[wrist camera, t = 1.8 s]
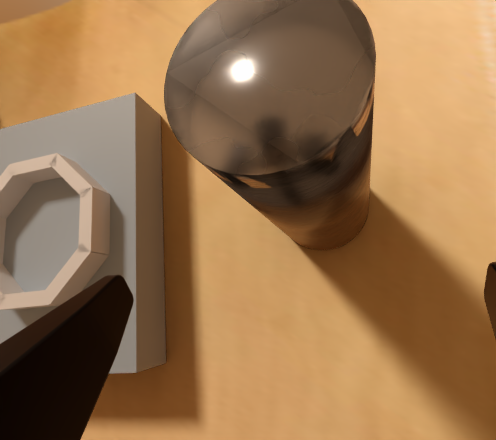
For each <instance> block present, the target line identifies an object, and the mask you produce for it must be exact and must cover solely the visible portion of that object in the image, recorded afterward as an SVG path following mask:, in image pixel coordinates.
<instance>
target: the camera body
mask: <svg viewBox="0 0 496 440" xmlns="http://www.w3.org/2000/svg"><path fill="white" fill-rule="evenodd" d="M117 274H118V275H121V276H123V277H124V279H125V281H126V283H127V285H128V287H129V288H130V290H131V292H132V294H133V298H134V302H133V307H132V310H131V313H130V316H129V319H128V322H127V325H126V328H125V332H124V335H123V338H122V341H121V344H120V347H119V350H118V353H117V355H116V358H115V360H114V363H113V365H112V367H111V370H110V372H109V374H111V373H137V372H140V371H143V370H146V369H150V368H153V367H156V366H159V365H162V364H165V363H166V330H165V285H164V240H163V194H162V149H161V116H160V115H159V114H158V113H157V112H156V111H155V110H154V109H153V108H152V107H150V106H149V105H148V104H147V103H146V102H145V101H144V100H143V99H142V98H141V97H139V96H138V95H137V94H136V93H132V94H129V95H125V96H121V97H118V98H114V99H110V100H107V101H103V102H99V103H95V104H92V105H88V106H84V107H81V108H77V109H73V110H69V111H66V112H62V113H58V114H55V115H51V116H47V117H44V118H40V119H36V120H32V121H29V122H25V123H21V124H18V125H14V126H10V127H7V128H3V129H0V344H1V343H2V342H4V341H5V340H7V339H8V338H10V337H11V336H13V335H15V334H16V333H18V332H19V331H21V330H22V329H24V328H25V327H27V326H28V325H30V324H32V323H33V322H35V321H36V320H38V319H39V318H41V317H42V316H44V315H46V314H47V313H49V312H50V311H52V310H53V309H55V308H56V307H58V306H59V305H61V304H63V303H64V302H66V301H67V300H69V299H70V298H72V297H73V296H75V295H77V294H78V293H80V292H81V291H83V290H84V289H86V288H87V287H89V286H91V285H92V284H94V283H95V282H97V281H98V280H100V279H101V278H103V277H104V276H106V275H117Z"/></svg>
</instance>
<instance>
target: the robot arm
mask: <svg viewBox="0 0 496 440" xmlns="http://www.w3.org/2000/svg"><path fill="white" fill-rule="evenodd" d="M484 299H485V303H486V307H487V310H488V314H489V317H490V321H491V324H492V328H493V331H494V335H495V339H496V262H492V263H490V264H489V266H488V269H487V275H486V282H485V288H484ZM133 302H134V298H133V294H132V292H131V290H130V288H129V287H128V285H127V283H126V281H125V279H124V277H123V276H121V275H118V274H117V275H106V276H104V277H103V278H101V279H100V280H98V281H97V282H95V283H94V284H92V285H91V286H89V287H87V288H86V289H84V290H83V291H81V292H80V293H78V294H77V295H75V296H73V297H72V298H70V299H69V300H67V301H66V302H64V303H63V304H61V305H59V306H58V307H56V308H55V309H53V310H52V311H50V312H49V313H47V314H46V315H44V316H42V317H41V318H39V319H38V320H36V321H35V322H33V323H32V324H30V325H28V326H27V327H25V328H24V329H22V330H21V331H19V332H18V333H16V334H15V335H13V336H11V337H10V338H8V339H7V340H5V341H4V342H2V343H1V344H0V440H80V439H81V437H82V435H83V432H84V430H85V428H86V426H87V423H88V421H89V419H90V416H91V414H92V412H93V409H94V407H95V405H96V402H97V400H98V398H99V395H100V393H101V391H102V388H103V386H104V384H105V381H106V379H107V377H108V374H109V372H110V370H111V367H112V365H113V363H114V360H115V358H116V355H117V353H118V350H119V347H120V344H121V341H122V338H123V335H124V332H125V328H126V325H127V322H128V319H129V316H130V313H131V310H132V307H133Z"/></svg>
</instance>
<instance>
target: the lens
mask: <svg viewBox="0 0 496 440" xmlns="http://www.w3.org/2000/svg"><path fill="white" fill-rule="evenodd" d="M375 62H376V52H375V42H374V38H373V34H372V31H371V28H370V25H369V23H368V21H367V19H366V17H365V15H364V14H363V12H362V11H361V10H360V8H359V7H358V6H357V4H356V3H355V2H354V1H353V0H217V1H215V2H214V3H213V4H212V5H210V6H209V7H208V8H207V9H205V10H204V11H203V12H202V13H201V14H200V15H199V16H198V17H197V18H196V19H195V20H194V22H193V23H192V24H191V25H190V26H189V27H188V29H187V30H186V32H185V33H184V35H183V36H182V37H181V39H180V41H179V43H178V44H177V46H176V48H175V50H174V52H173V55H172V57H171V60H170V62H169V66H168V69H167V73H166V79H165V85H164V101H165V110H166V114H167V118H168V121H169V124H170V126H171V129H172V131H173V133H174V134H175V136H176V138H177V139H178V141H179V142H180V143H181V145H182V146H183V147H184V148H185V149H186V150H187V151H188V152H189V153H190V154H191V155H192V156H193V157H194V158H196V159H197V160H198V161H199V162H200V163H202V164H203V165H204V166H205V167H206V168H208V169H209V170H210V171H211V172H212V173H214V174H215V175H216V176H217V177H218V178H220V179H221V180H222V181H223V182H224V183H226V184H227V185H228V186H229V187H230V188H232V189H233V190H234V191H235V192H236V193H238V194H239V195H240V196H241V197H242V198H244V199H245V200H246V201H247V202H248V203H250V204H251V205H252V206H253V207H254V208H256V209H257V210H258V211H259V212H260V213H262V214H263V215H264V216H265V217H266V218H268V219H269V220H270V221H271V222H272V223H273V224H275V225H276V226H277V227H278V228H279V229H281V230H282V231H283V232H284V233H285V234H287V235H288V236H289V237H290V238H291V239H293V240H294V241H295V242H297V243H298V244H300V245H302V246H304V247H307V248H310V249H314V250H330V249H334V248H338V247H340V246H342V245H345V244H346V243H348V242H349V241H351V240H352V239H353V238H354V237H355V236H356V235H357V234H358V233H359V232H360V230H361V229H362V228H363V226H364V224H365V222H366V219H367V215H368V210H369V189H370V168H371V147H372V126H373V105H374V83H375Z"/></svg>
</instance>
